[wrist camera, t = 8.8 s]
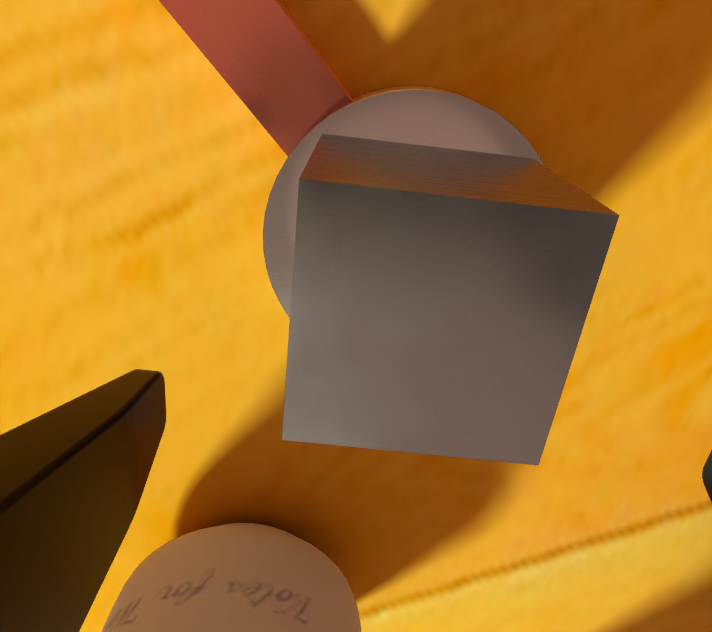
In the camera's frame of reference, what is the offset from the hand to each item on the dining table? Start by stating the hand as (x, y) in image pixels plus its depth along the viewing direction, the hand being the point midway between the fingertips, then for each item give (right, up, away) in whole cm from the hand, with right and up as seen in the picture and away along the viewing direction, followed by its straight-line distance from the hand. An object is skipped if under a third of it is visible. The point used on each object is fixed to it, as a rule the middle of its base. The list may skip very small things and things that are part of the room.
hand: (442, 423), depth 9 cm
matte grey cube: (0, +4, +8) cm, 9 cm away
